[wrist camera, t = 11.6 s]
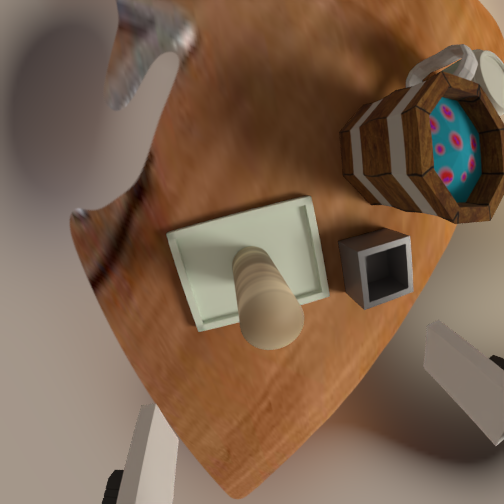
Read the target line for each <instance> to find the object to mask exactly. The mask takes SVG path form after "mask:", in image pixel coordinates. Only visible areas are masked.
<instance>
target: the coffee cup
mask: <svg viewBox="0 0 504 504" xmlns="http://www.w3.org/2000/svg"><path fill="white" fill-rule="evenodd" d="M472 52H473V53H474V55H475V57H476V60H477V62H478V66H477V69H476V72H475V75H474V77H473V78H472V80H471V81H473V82H475V83H478V84H480V86H481V87H482V89H483V90H484V92H485V93H486V95H487V96H488V98H489V100H490V101H491V103H492V104H493V106H494V108H495V109H496V111H497V113H498V115H499V116H501V115H502V114H504V64H503V62H502V61H501V60H500V59H499V58H498V57H497V56H496V55H495V54H494V53H492V52H490V51H483V50H479V49H477V50H472ZM461 60H462V59H461ZM461 60H459V61H457V62H456V63H454V64H452V65H451V66H449V67H447V68H446V69H444V70H442V71H443V72H446V73H450V74H453V73H454V72H455V70H456V69H457V68H458V66H459V65H460V63H461ZM437 74H438V73H437Z"/></svg>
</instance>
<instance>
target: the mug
mask: <svg viewBox="0 0 504 504" xmlns="http://www.w3.org/2000/svg"><path fill="white" fill-rule="evenodd" d="M460 58H462V60H461V63H460V65H459V66H458V68H457V69H456V70H455V72H454V73H453V74H450V73H446V72H443V71H441V72H439V73H438V74H436V75H434V76H433V77H431V78H430V79H428V80H426V81H424V82H422V80H423V79H424V78H425V77H426V76H427V75H429V74H430V73H431V72H433V71H436V70H438V69H440V68H443V67H445V66H447V65H449V64H451V63H453V62H455V61H457V60H458V59H460ZM477 66H478V62H477V60H476V57H475V55H474V53H473V52H472V50H471V49H470V48H469V47H467V46H466V45H464V44H461V45H451V46H448V47H447V48H445V49H444V50H442V51H440V52H439V53H437V54H435V55H433V56H431V57H429V58H427V59H425V60H423V61H422V62H420V63H418V64H417V65H416V66H415V67H414V68H413V69H412V70H411V71H410V72H409V75H408V77H407V79H406V88H403V89H399V90H395V91H394V92H392V93H391V94H389V95H388V96H386V97H385V98H383V99H381V100H379V101H377V102H374V103H370V104H365V105H363V106H362V107H361V108H360V109H359V110H358V112H357V113H356V114H355V115H354V116H353V117H352V118H351V120H350V121H349V122H348V123H347V124H346V125H345V127H344V128H343V129H342V130H341V131H340V143H341V154H342V168H343V176H344V177H345V178H346V179H347V180H348V181H349V182H350V183H351V184H352V185H353V186H354V187H355V188H356V189H357V190H358V192H359V193H360V194H361V195H362V196H363V197H364V198H365V199H366V200H367V201H368V202H369V203H370V204H371V205H386V206H391V207H394V208H397V209H400V210H402V211H405V212H419V213H426V214H431V215H435V216H439V217H441V218H443V219H446V220H448V221H450V222H452V223H454V224H459V223H470V222H482V221H490V220H491V219H492V217H493V215H494V213H495V211H496V209H497V207H498V205H499V203H500V201H501V199H502V197H503V195H504V123H503V122H502V120H501V118H500V116H499V115H498V113H497V111H496V109H495V108H494V106H493V104H492V103H491V101H490V100H489V98H488V96H487V95H486V93H485V92H484V90H483V89H482V87H481V86H480V84H478V83H475V82H473V81H471V80H472V78H473V77H474V75H475V72H476V69H477Z"/></svg>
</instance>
